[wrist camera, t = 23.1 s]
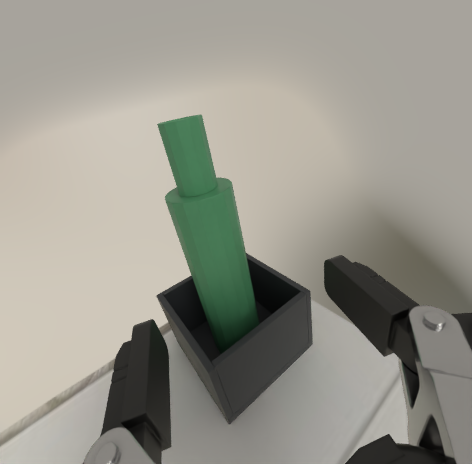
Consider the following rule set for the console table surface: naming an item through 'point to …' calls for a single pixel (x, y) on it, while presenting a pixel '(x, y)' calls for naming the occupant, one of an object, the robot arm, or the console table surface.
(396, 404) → the console table surface
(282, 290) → the bin
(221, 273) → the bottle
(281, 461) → the console table surface
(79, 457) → the console table surface
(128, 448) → the robot arm
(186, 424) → the console table surface
